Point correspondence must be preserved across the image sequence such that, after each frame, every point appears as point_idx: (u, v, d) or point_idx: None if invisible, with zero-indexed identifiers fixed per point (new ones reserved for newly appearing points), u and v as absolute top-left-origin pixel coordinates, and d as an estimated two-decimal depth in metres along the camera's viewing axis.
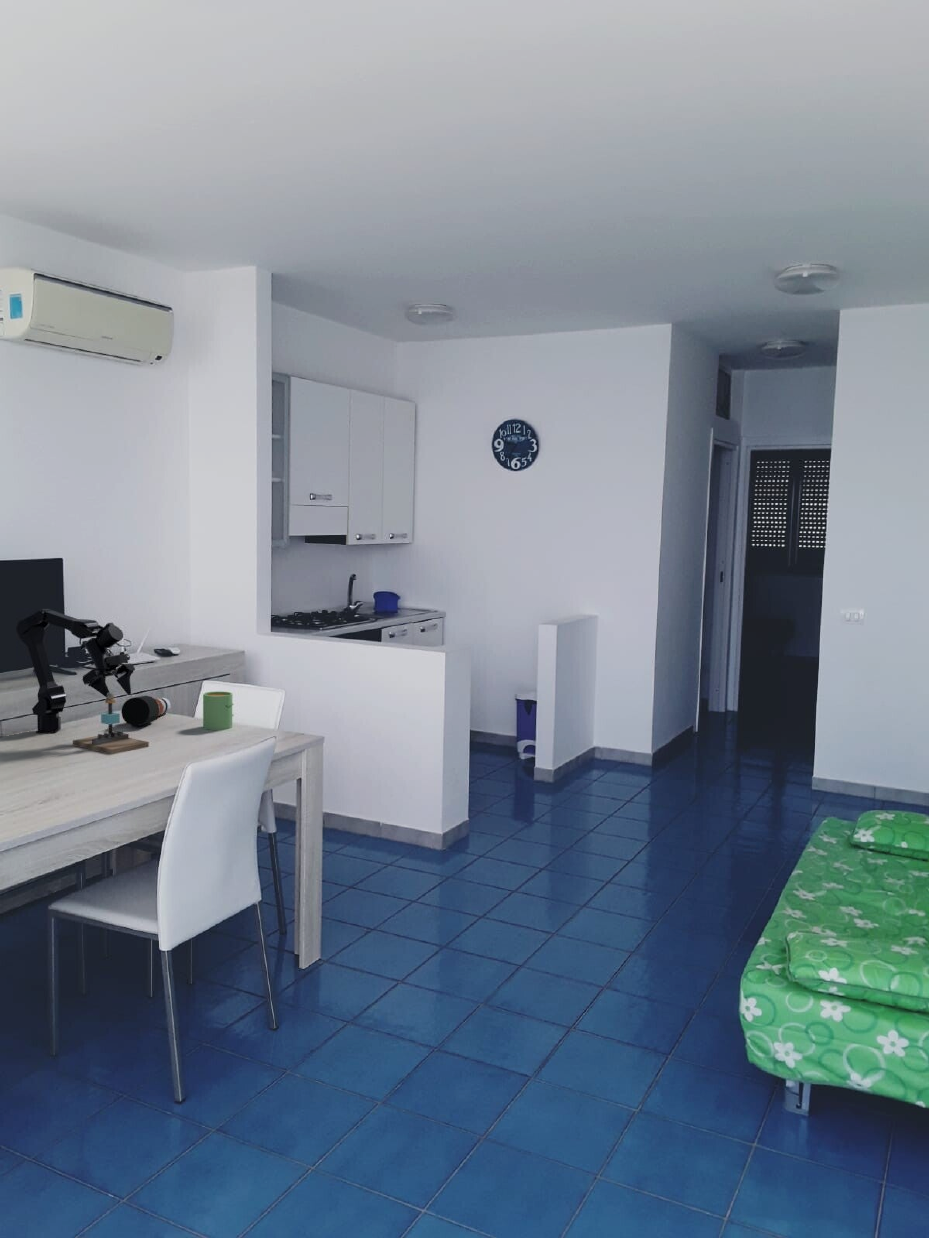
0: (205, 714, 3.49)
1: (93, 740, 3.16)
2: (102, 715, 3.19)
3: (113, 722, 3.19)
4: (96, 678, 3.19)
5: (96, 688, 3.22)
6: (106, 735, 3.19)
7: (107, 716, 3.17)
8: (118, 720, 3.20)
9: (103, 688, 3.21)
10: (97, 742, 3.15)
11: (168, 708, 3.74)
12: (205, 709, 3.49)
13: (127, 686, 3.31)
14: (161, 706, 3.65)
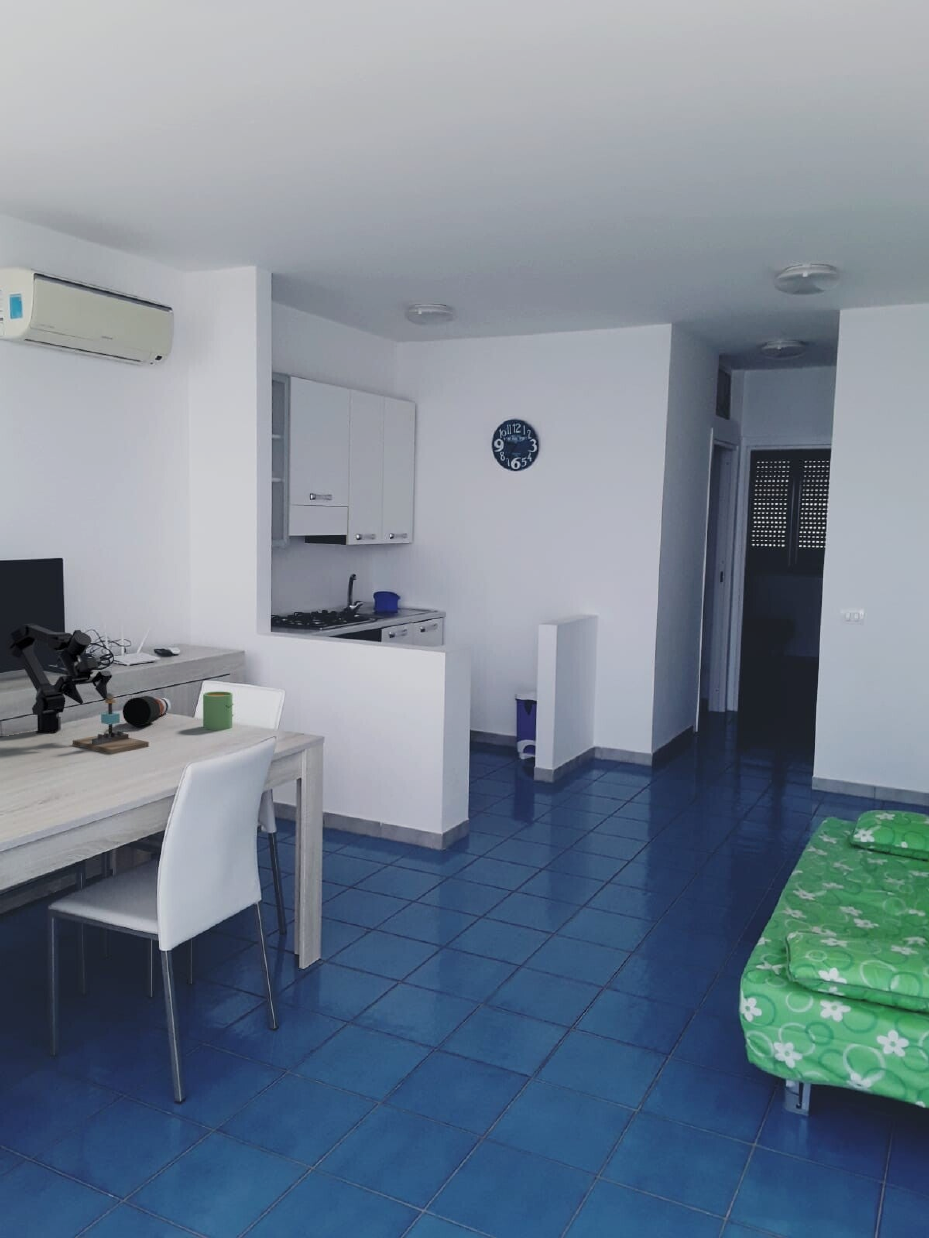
0: (205, 714, 3.49)
1: (93, 740, 3.16)
2: (102, 715, 3.19)
3: (113, 722, 3.19)
4: (65, 684, 3.19)
5: (68, 695, 3.21)
6: (106, 735, 3.19)
7: (107, 716, 3.17)
8: (118, 720, 3.20)
9: (74, 694, 3.20)
10: (97, 742, 3.15)
11: (168, 708, 3.74)
12: (205, 709, 3.49)
13: (103, 692, 3.28)
14: (162, 706, 3.65)
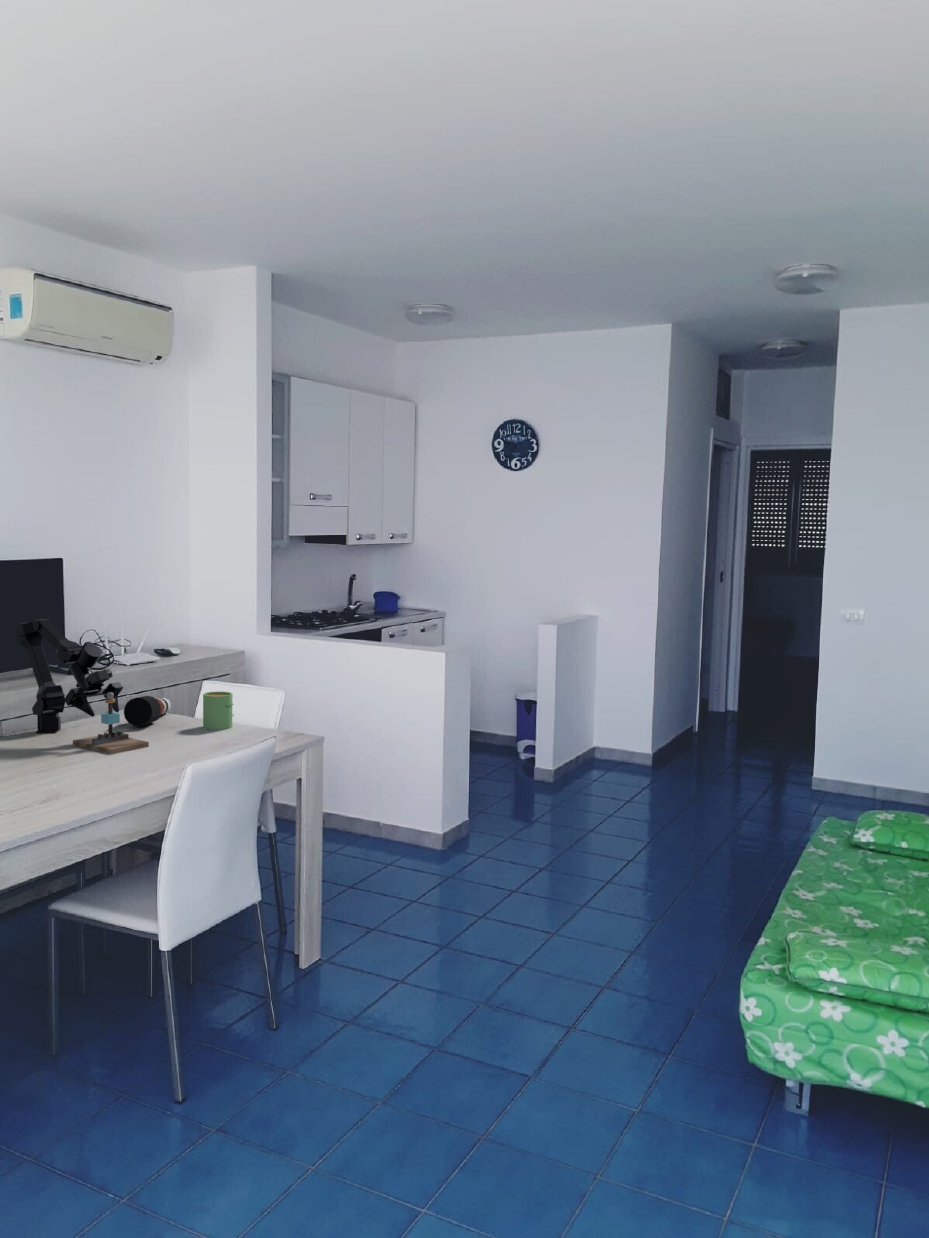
0: (205, 714, 3.49)
1: (93, 740, 3.16)
2: (102, 715, 3.19)
3: (113, 722, 3.19)
4: (76, 696, 3.16)
5: (80, 708, 3.18)
6: (106, 735, 3.19)
7: (107, 716, 3.17)
8: (118, 720, 3.20)
9: (85, 706, 3.17)
10: (97, 742, 3.15)
11: (168, 708, 3.74)
12: (205, 709, 3.49)
13: (115, 704, 3.25)
14: (162, 706, 3.65)
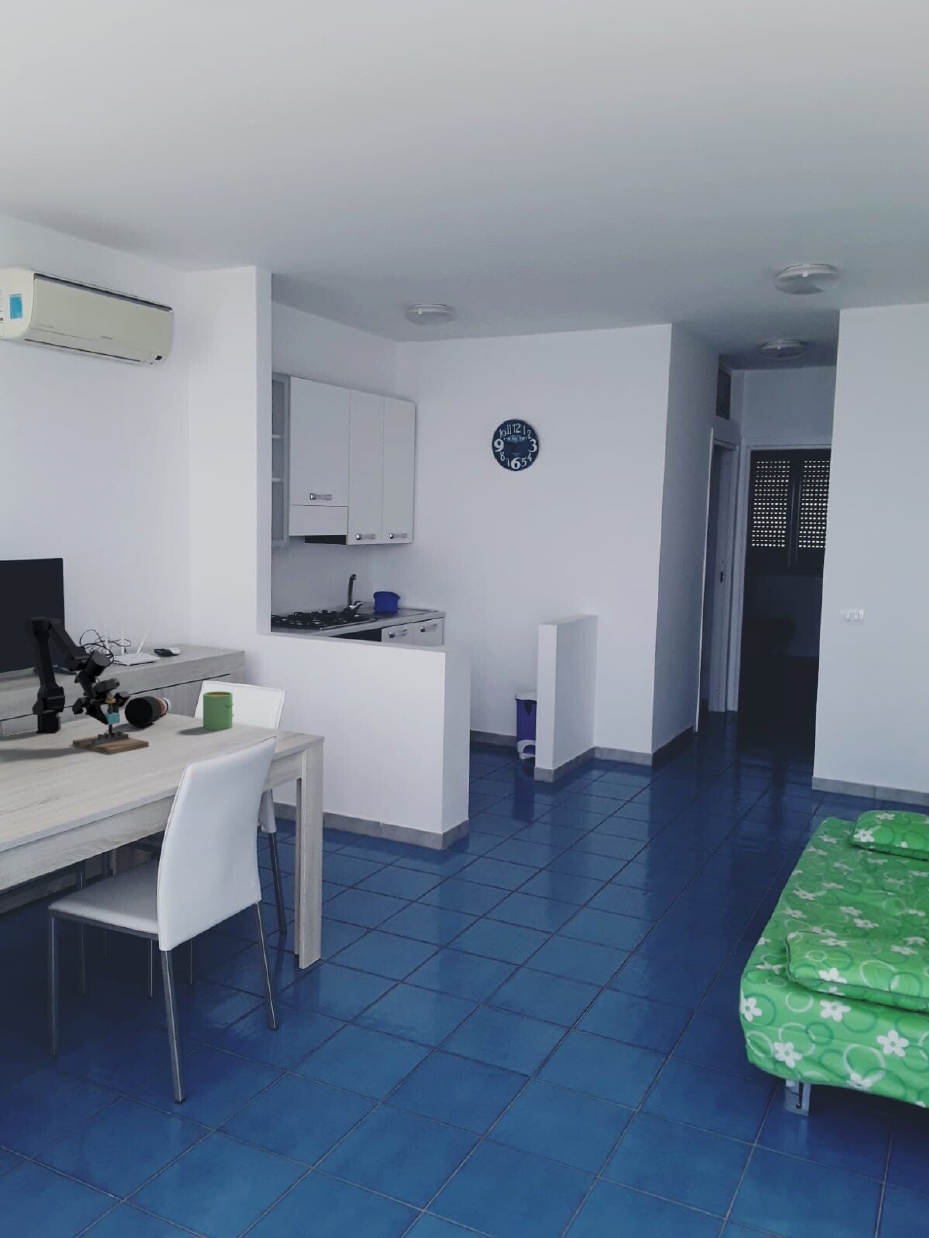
0: (205, 714, 3.49)
1: (93, 740, 3.16)
2: None
3: (113, 722, 3.19)
4: (90, 705, 3.16)
5: (93, 716, 3.18)
6: (106, 735, 3.19)
7: (107, 716, 3.17)
8: (118, 720, 3.20)
9: (99, 714, 3.17)
10: (97, 742, 3.15)
11: (169, 708, 3.74)
12: (205, 709, 3.49)
13: None
14: (163, 706, 3.65)
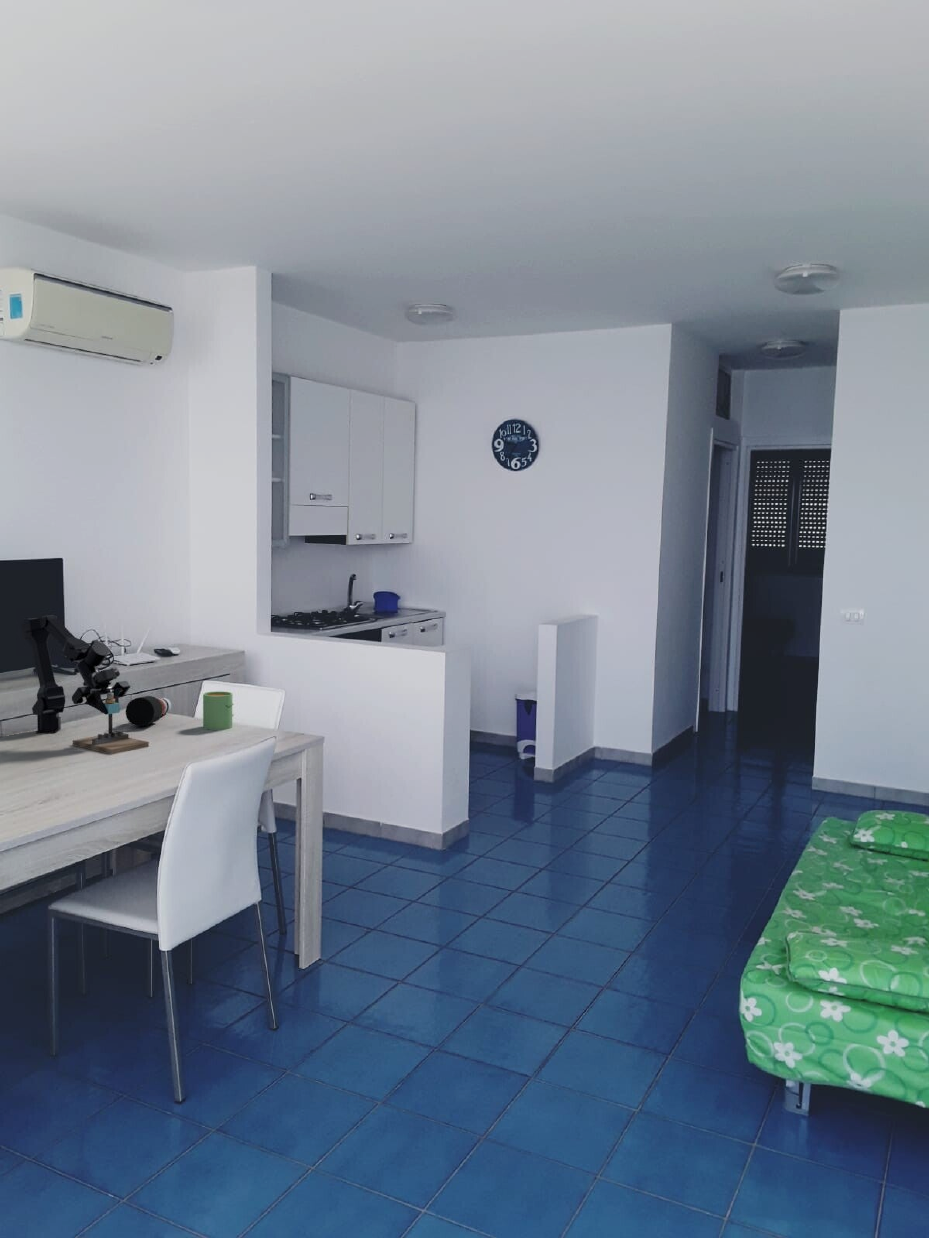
0: (205, 714, 3.49)
1: (93, 740, 3.16)
2: None
3: (113, 712, 3.18)
4: (90, 694, 3.16)
5: (93, 705, 3.18)
6: (106, 735, 3.19)
7: (107, 706, 3.17)
8: (118, 710, 3.20)
9: (99, 704, 3.17)
10: (97, 742, 3.15)
11: (169, 708, 3.74)
12: (205, 709, 3.49)
13: None
14: (163, 706, 3.65)
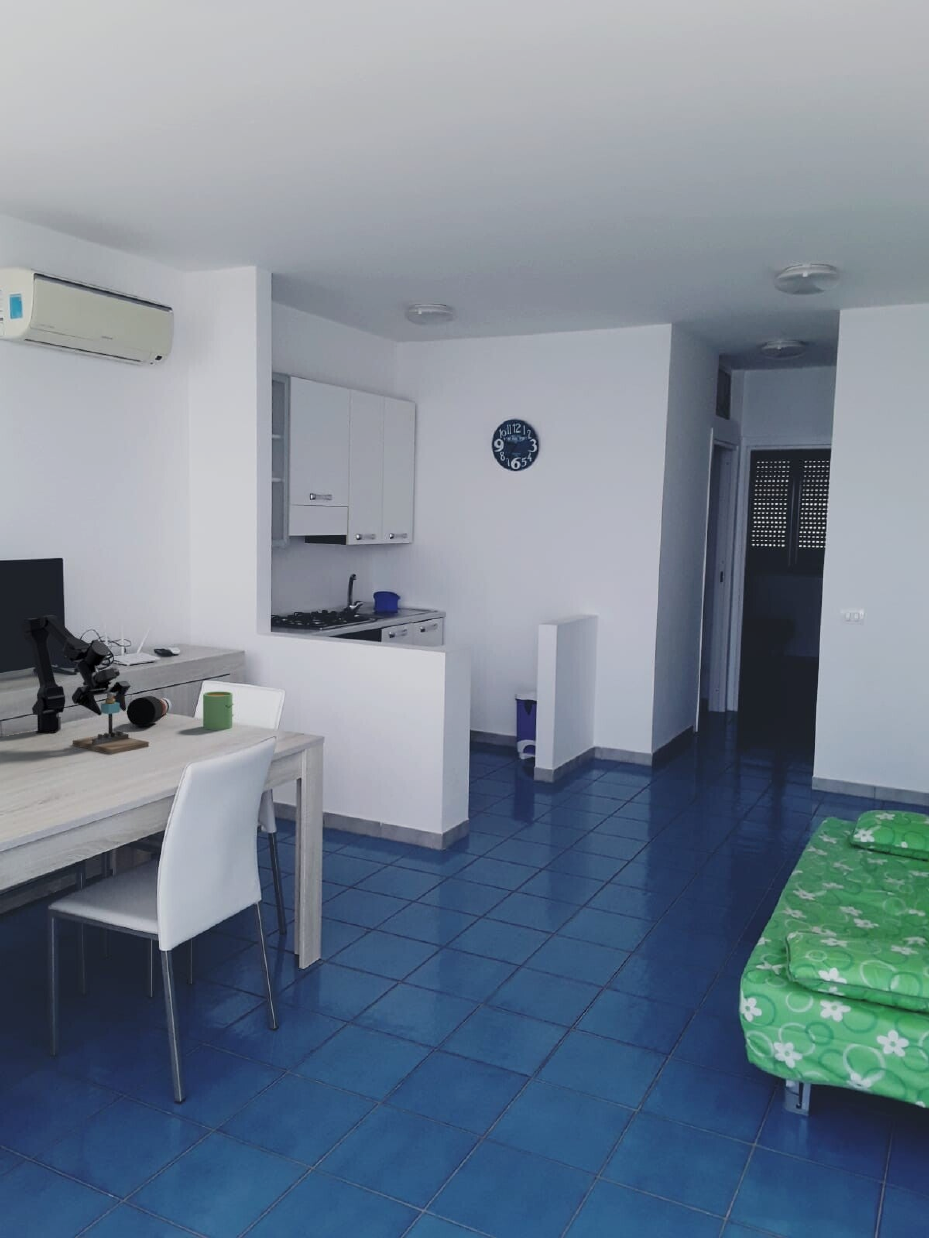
0: (205, 714, 3.49)
1: (93, 740, 3.16)
2: (102, 704, 3.19)
3: (113, 711, 3.18)
4: (83, 695, 3.14)
5: (87, 706, 3.16)
6: (106, 735, 3.19)
7: (107, 705, 3.17)
8: (118, 709, 3.20)
9: (92, 705, 3.15)
10: (97, 742, 3.15)
11: (169, 708, 3.74)
12: (205, 709, 3.49)
13: (122, 702, 3.23)
14: (164, 706, 3.65)
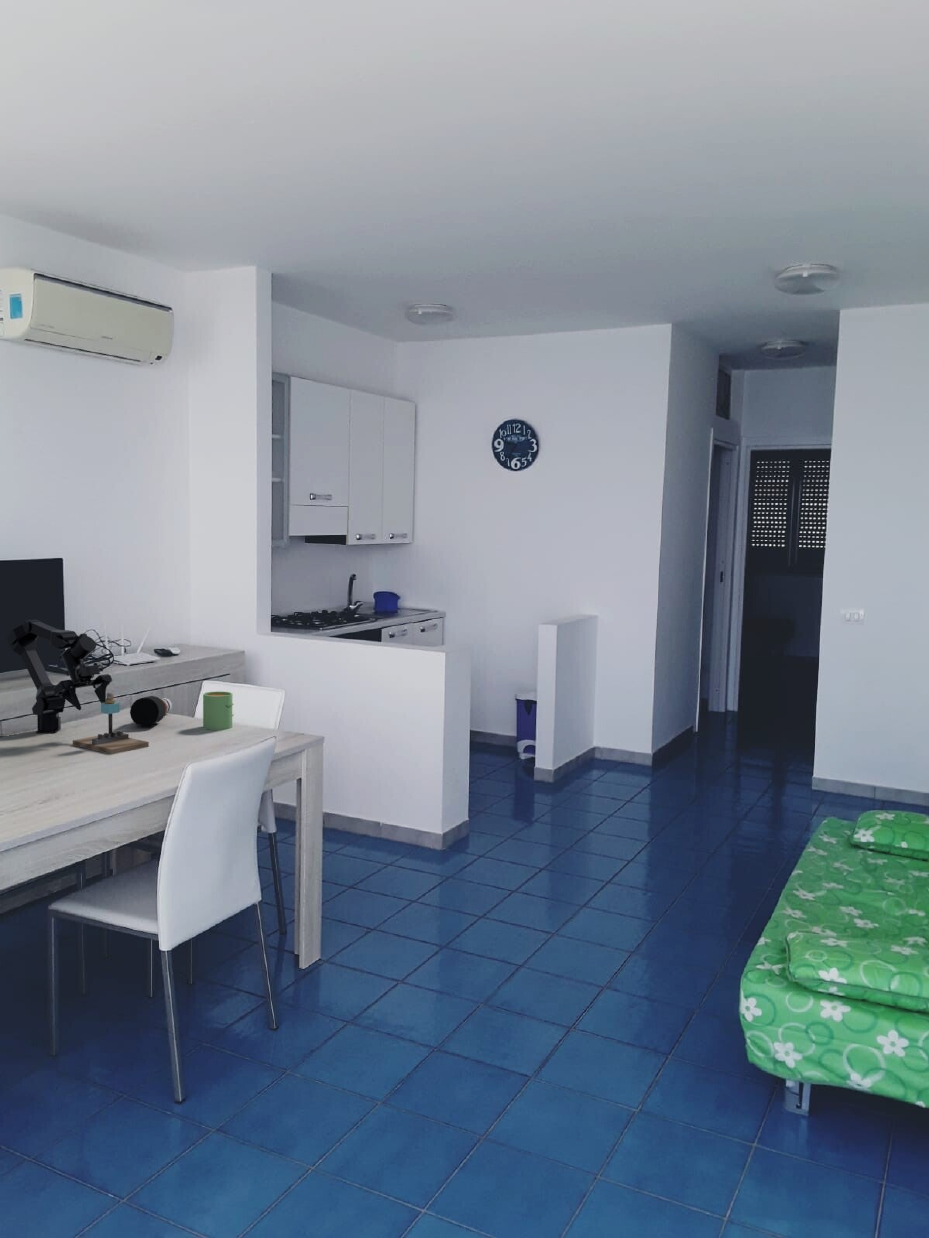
0: (205, 714, 3.49)
1: (93, 740, 3.16)
2: (102, 704, 3.19)
3: (113, 711, 3.18)
4: (65, 689, 3.20)
5: (67, 699, 3.22)
6: (106, 735, 3.19)
7: (107, 705, 3.17)
8: (118, 709, 3.20)
9: (73, 699, 3.21)
10: (97, 742, 3.15)
11: (170, 708, 3.74)
12: (205, 709, 3.49)
13: (102, 697, 3.30)
14: (165, 706, 3.65)
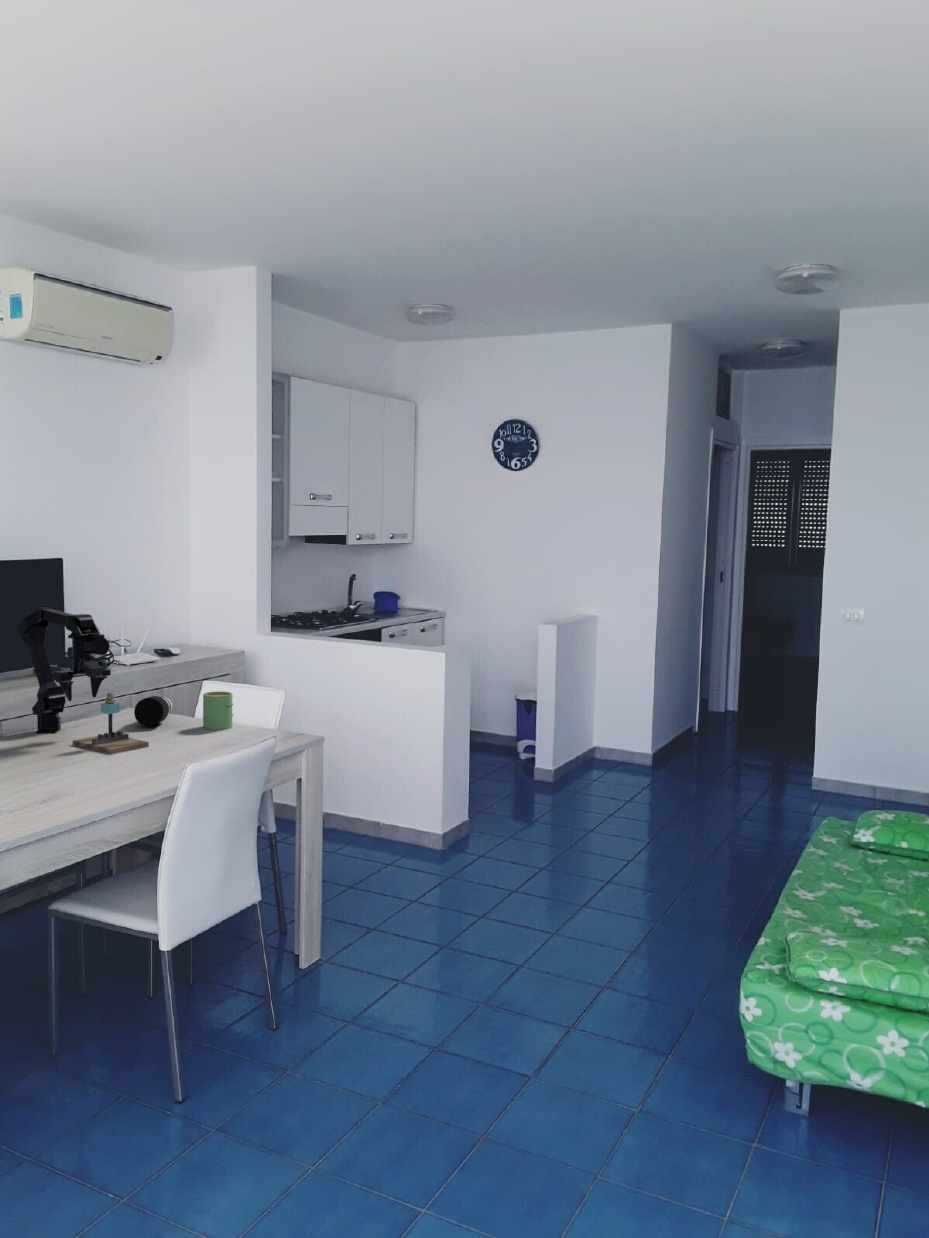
0: (205, 714, 3.49)
1: (93, 740, 3.16)
2: (102, 704, 3.19)
3: (113, 711, 3.18)
4: (63, 681, 3.22)
5: (62, 686, 3.25)
6: (106, 735, 3.19)
7: (107, 705, 3.17)
8: (118, 709, 3.20)
9: (67, 690, 3.25)
10: (97, 742, 3.15)
11: (171, 708, 3.74)
12: (205, 709, 3.49)
13: (95, 689, 3.33)
14: (167, 706, 3.65)
